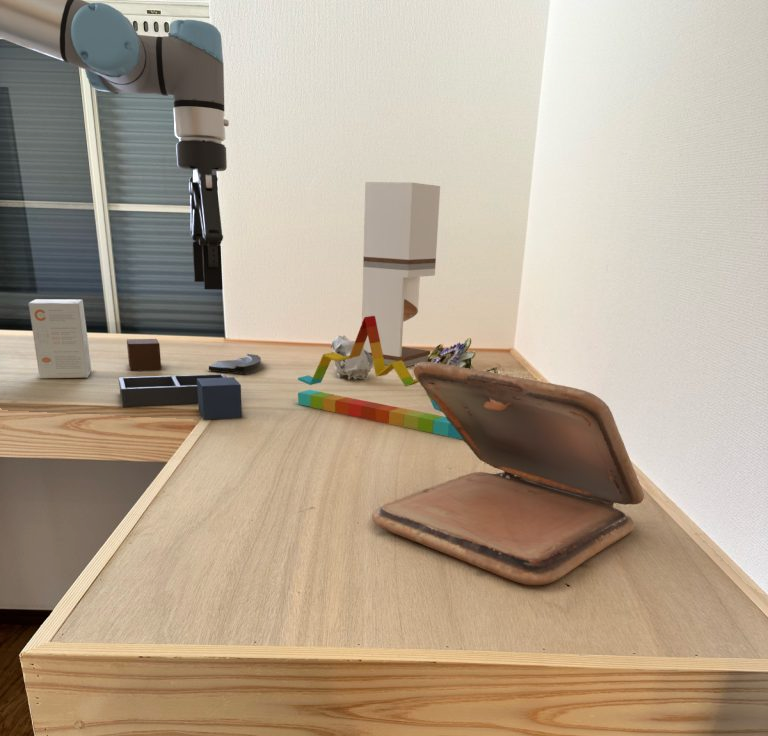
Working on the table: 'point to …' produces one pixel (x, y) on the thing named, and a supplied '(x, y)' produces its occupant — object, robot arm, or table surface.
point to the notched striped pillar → (397, 260)
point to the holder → (161, 389)
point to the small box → (60, 338)
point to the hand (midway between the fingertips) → (207, 285)
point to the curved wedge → (238, 365)
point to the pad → (219, 398)
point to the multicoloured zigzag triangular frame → (369, 408)
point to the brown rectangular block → (144, 354)
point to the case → (521, 477)
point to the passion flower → (455, 355)
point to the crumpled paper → (351, 359)
